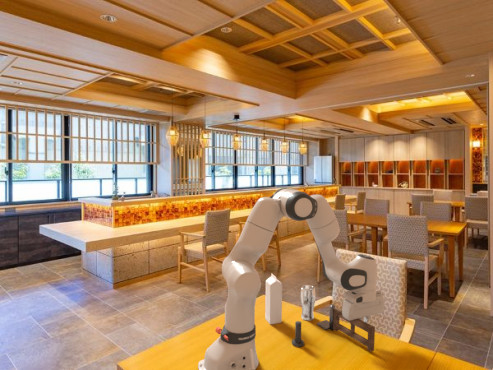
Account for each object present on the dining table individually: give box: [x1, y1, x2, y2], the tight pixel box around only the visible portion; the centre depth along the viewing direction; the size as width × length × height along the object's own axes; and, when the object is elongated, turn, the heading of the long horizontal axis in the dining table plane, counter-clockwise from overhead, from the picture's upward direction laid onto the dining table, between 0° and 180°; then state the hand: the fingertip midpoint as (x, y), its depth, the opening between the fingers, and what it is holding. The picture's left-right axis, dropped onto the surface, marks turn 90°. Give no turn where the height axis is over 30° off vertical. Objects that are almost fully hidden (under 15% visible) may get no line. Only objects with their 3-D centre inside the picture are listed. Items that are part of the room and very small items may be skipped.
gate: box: [333, 307, 376, 352], centre depth 138 cm, size 20×3×10 cm, turn 31°
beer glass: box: [300, 284, 316, 322], centre depth 159 cm, size 7×7×15 cm
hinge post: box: [316, 304, 336, 332], centre depth 150 cm, size 6×8×11 cm
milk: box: [264, 272, 283, 325], centre depth 155 cm, size 6×6×22 cm
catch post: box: [291, 320, 305, 348], centre depth 136 cm, size 5×5×9 cm
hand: (363, 325), depth 138 cm, fingers closed
